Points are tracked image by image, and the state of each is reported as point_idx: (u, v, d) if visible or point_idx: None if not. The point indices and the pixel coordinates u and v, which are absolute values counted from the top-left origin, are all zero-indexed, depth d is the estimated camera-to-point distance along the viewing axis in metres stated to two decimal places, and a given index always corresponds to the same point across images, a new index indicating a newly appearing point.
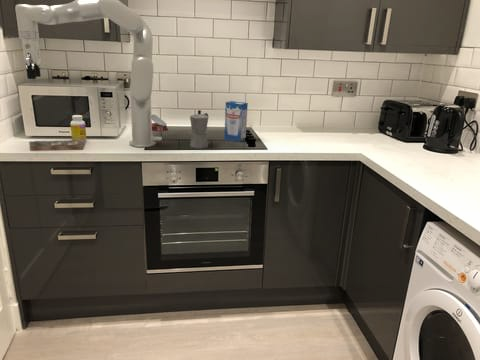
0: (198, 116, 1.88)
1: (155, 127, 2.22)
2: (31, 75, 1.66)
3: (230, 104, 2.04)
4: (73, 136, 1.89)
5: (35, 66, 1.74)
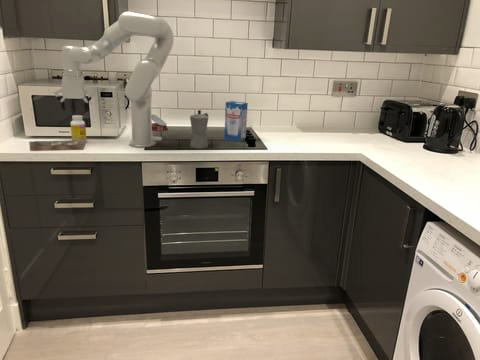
0: (198, 116, 1.88)
1: (155, 127, 2.22)
2: None
3: (230, 104, 2.04)
4: (73, 136, 1.89)
5: (63, 100, 1.85)
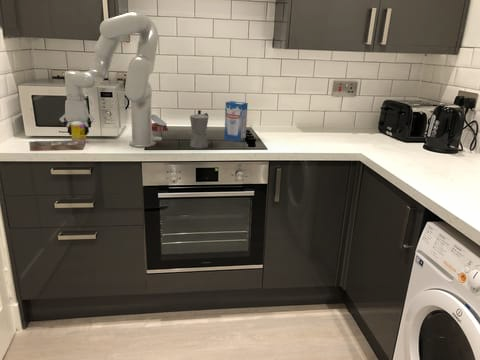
0: (198, 116, 1.88)
1: (155, 127, 2.22)
2: (88, 131, 1.93)
3: (230, 104, 2.04)
4: (73, 136, 1.89)
5: None
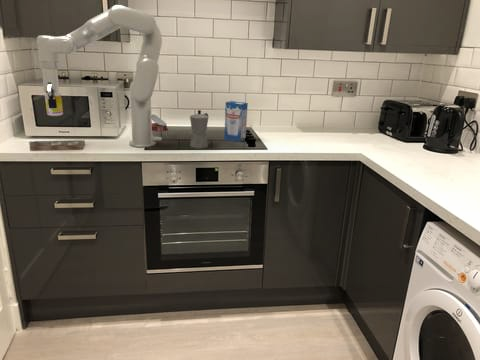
0: (198, 116, 1.88)
1: (155, 127, 2.22)
2: None
3: (230, 104, 2.04)
4: (59, 108, 1.75)
5: None
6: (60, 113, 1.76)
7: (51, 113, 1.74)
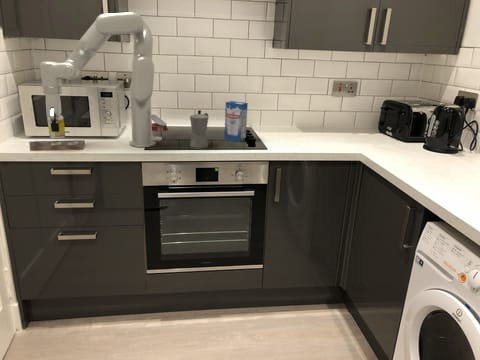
0: (198, 116, 1.88)
1: (155, 127, 2.22)
2: None
3: (230, 104, 2.04)
4: (61, 131, 1.78)
5: None
6: (62, 136, 1.79)
7: (54, 136, 1.77)
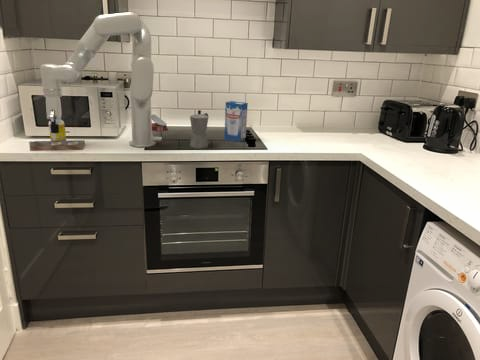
0: (198, 116, 1.88)
1: (155, 127, 2.22)
2: None
3: (230, 104, 2.04)
4: (63, 136, 1.79)
5: None
6: None
7: None
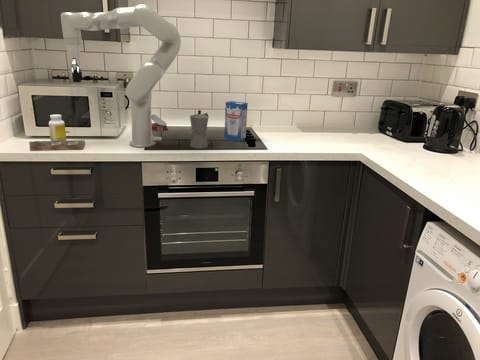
0: (198, 116, 1.88)
1: (155, 127, 2.22)
2: None
3: (230, 104, 2.04)
4: (63, 136, 1.79)
5: None
6: None
7: None
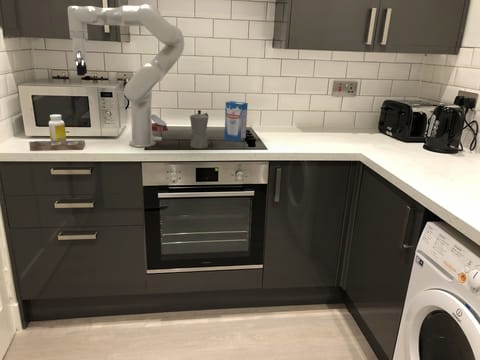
0: (198, 116, 1.88)
1: (155, 127, 2.22)
2: None
3: (230, 104, 2.04)
4: (63, 136, 1.79)
5: None
6: None
7: None
